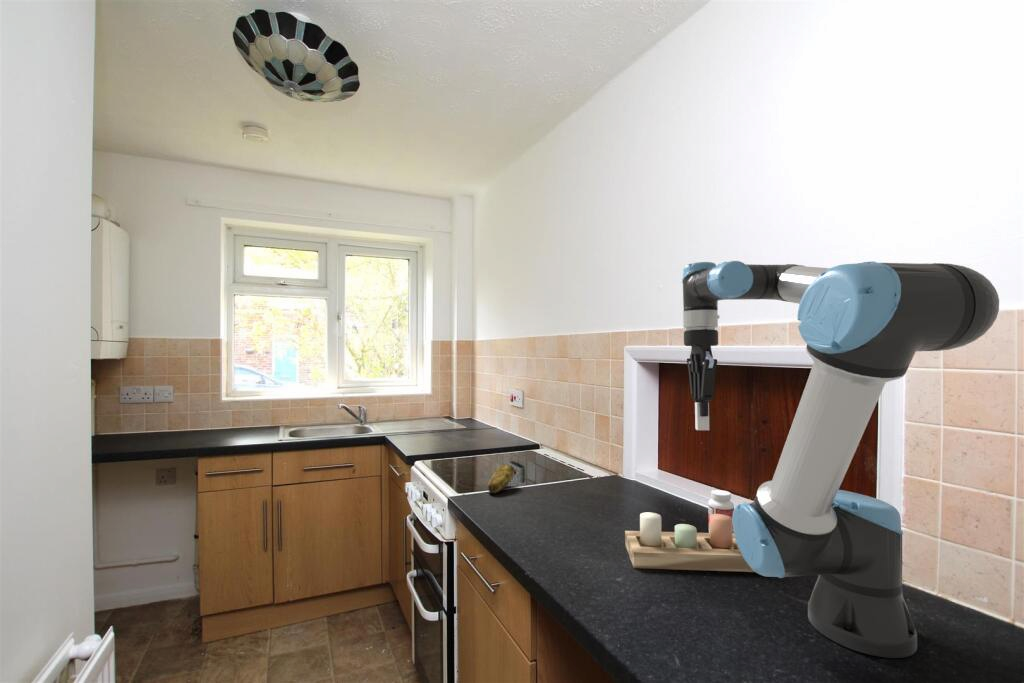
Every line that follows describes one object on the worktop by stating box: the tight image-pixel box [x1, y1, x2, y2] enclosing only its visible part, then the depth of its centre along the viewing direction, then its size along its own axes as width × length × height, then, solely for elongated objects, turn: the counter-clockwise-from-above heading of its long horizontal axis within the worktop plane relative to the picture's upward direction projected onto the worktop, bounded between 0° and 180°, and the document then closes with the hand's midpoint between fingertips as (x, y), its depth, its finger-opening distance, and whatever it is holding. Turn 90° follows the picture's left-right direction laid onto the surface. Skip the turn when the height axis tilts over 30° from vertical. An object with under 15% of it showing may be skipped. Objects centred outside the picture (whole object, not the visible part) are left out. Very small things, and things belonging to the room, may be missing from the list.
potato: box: [487, 464, 515, 494], centre depth 160 cm, size 8×13×8 cm, turn 134°
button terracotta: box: [710, 514, 733, 548], centre depth 107 cm, size 5×5×6 cm
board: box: [624, 530, 756, 573], centre depth 108 cm, size 12×26×4 cm, turn 85°
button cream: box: [639, 511, 662, 546], centre depth 109 cm, size 5×5×6 cm
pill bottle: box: [707, 489, 735, 534], centre depth 121 cm, size 6×6×11 cm
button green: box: [674, 523, 698, 548], centre depth 108 cm, size 5×5×6 cm
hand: (702, 429), depth 108 cm, fingers closed
